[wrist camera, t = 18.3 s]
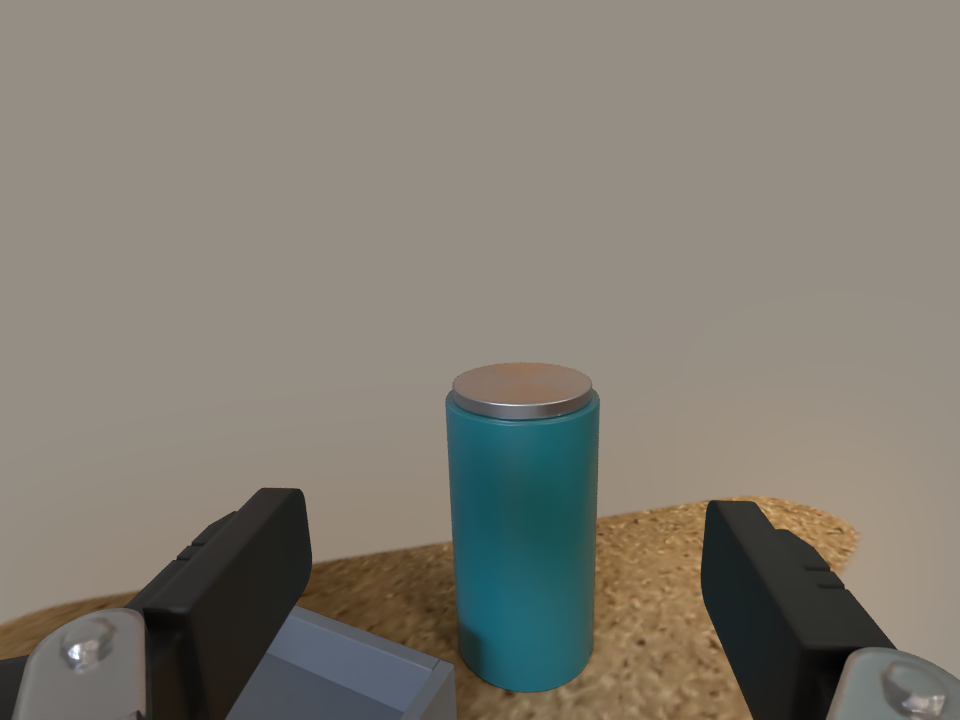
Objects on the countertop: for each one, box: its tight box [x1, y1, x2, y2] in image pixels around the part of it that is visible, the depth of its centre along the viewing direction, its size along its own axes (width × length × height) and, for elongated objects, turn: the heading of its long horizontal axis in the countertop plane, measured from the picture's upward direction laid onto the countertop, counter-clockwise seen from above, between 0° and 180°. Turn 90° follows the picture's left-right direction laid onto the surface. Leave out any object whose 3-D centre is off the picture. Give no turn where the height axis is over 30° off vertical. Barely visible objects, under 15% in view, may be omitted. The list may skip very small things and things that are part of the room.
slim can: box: [446, 363, 600, 692], centre depth 23 cm, size 6×6×12 cm
